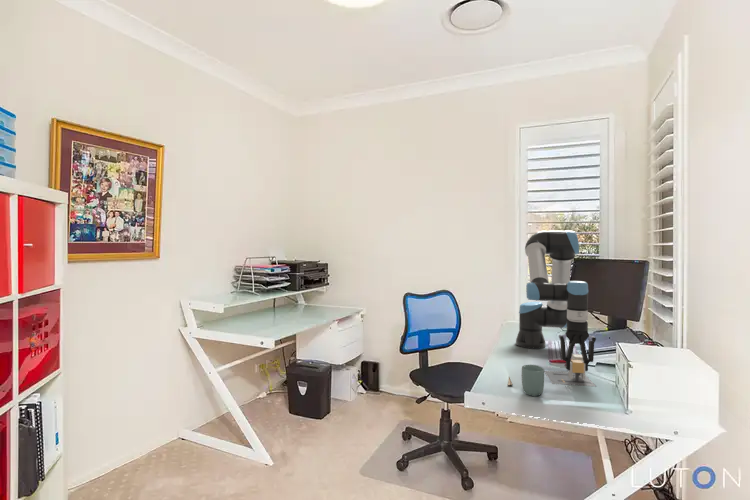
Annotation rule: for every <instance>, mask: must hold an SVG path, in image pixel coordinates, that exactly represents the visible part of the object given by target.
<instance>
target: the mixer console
mask: <svg viewBox="0 0 750 500" xmlns="http://www.w3.org/2000/svg"><path fill="white" fill-rule="evenodd" d="M544 375H546V377H547V378H548V380H549V381H550V382H551V384H552V385H564V386H580V387H581V386H582V387H597V385H596V384H595V383H594V382H593V381H592V380H591V379H590V378H589V377H588V376H587V374H585V380H583V379H582V378H581V373H580V375H579V379H578V382H577V381H575V373H573V372H572V379H570V378H569V377H568V371H559V370H558V371H555V370H544Z"/></svg>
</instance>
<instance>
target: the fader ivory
mask: <svg viewBox="0 0 750 500" xmlns="http://www.w3.org/2000/svg"><path fill="white" fill-rule="evenodd" d="M571 359H572V360H581V361H582V362H584V361H583V357H582V354H577V353H572V357H571ZM579 375H580V373H579Z"/></svg>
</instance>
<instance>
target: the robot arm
mask: <svg viewBox="0 0 750 500" xmlns="http://www.w3.org/2000/svg"><path fill="white" fill-rule="evenodd" d="M524 252H525V255H526V256H527V260H528V270H529V281H530V282H527V283H526V290H525V291H526V293H525V294H526V299H527V300H528V302H524V303H520V305H519V312H518V314H519V320H518V321H519V322H518V323H519V324H518V327H519V328H518V329H519V330H518V334H517V336H516V338H515V345H516V346H518V347H521V348H525V349H526V348H527V349H534V350H535V349H544V348H545V347H546V339H545V336H544V334H543V327H544V328H557V329H558V328H560V329H564V328H565V329H566V331H565V333H564V334H559V335H558V338H559V341H560V342H559V343H560V345H559V346H560V359H561V360H562V361H564V362H565V364H566V366H565V369H566V370H567V372H568V377H569V378H570V379H572V366H573V363H572V362H571V359H572V354H574V353H573V352H574V349H575V345H578V344H579V346H580V347H579V348H580V351H581V355H582V357H583V361H584V362H583V363H584V373H581V378H582V379H583V380H585V375H586V372H588V370H589V364H590V363H593V362H594V357H595V356H594V355H595V343H596V340H597V338H596V337H595V336H594V335H590V334H589V331H588V330H589V322H588V320H589V292H590V291H589V284H588V282H587V281H583V280H570V279H571V270H572V269H571V265H572V261H573V260H574V259H575V257H576V256H577V255H578V254H580V244H579V238H578V234H577V233H576V231H574V230H541V231H538V232H535V233H534V234H533V235H531V236H529V238H528V240H526V242H525V246H524ZM545 255H548V256H549V258H550V259H551V260H552V263H551V264H552V266H551V282H550V281H549V273H548V268H547V263H546V262H547V261H546V256H545ZM529 300H530V301H529ZM543 301H545V302H546V304H543ZM567 339H568V347H567V351H566V340H567ZM587 340H588V349H587V348H586V341H587ZM587 350H588V351H587Z"/></svg>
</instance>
